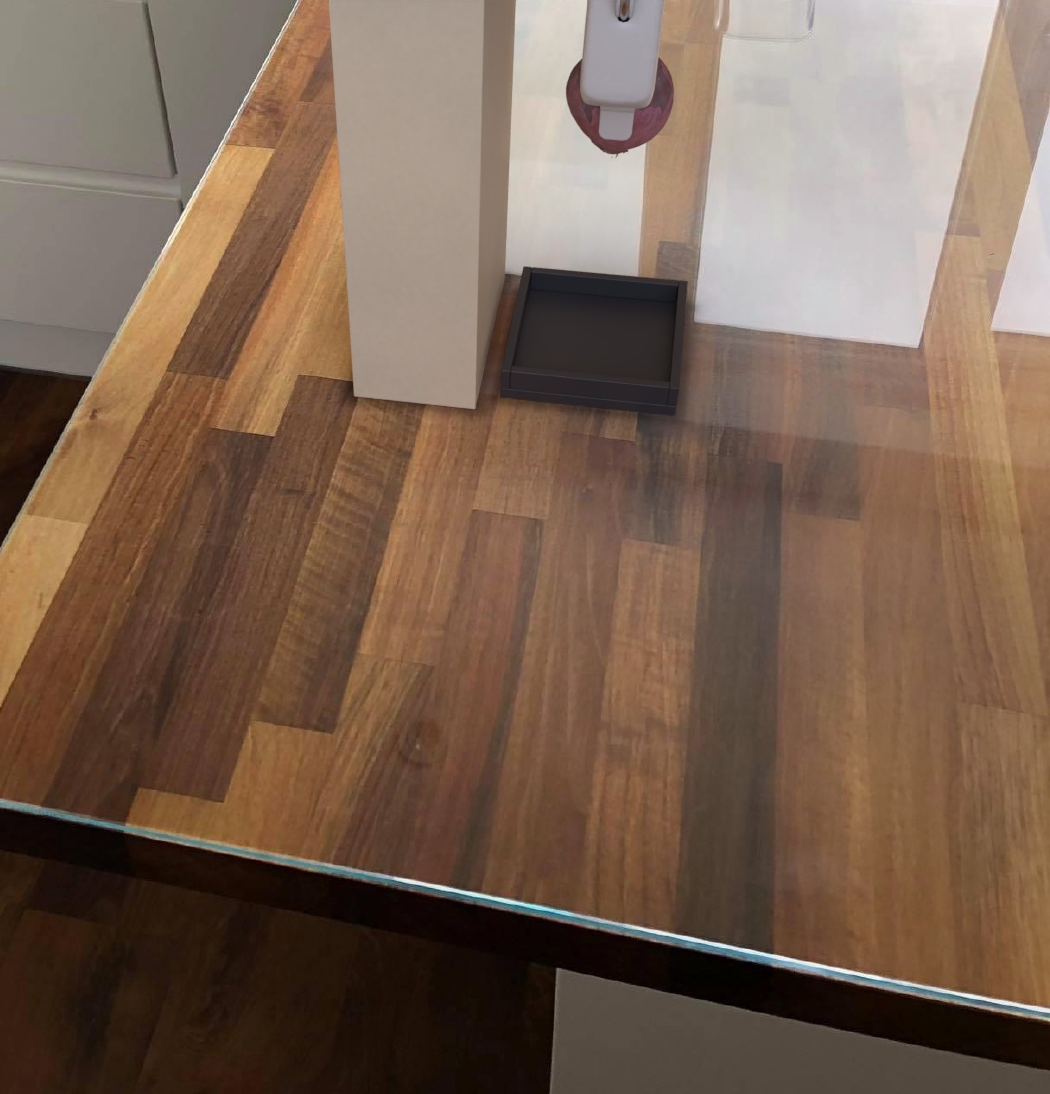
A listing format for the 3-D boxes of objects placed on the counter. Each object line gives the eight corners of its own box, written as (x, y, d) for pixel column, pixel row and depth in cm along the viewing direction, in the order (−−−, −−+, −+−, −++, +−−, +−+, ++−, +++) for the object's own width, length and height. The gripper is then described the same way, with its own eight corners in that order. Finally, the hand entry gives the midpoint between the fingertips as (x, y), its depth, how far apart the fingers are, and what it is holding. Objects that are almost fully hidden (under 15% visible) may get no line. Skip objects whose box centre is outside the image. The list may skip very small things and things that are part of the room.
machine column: (512, 275, 98) (532, -172, 76) (481, 415, 88) (494, -51, 66) (388, 263, 99) (372, -178, 77) (344, 400, 89) (311, -61, 67)
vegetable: (601, 115, 84) (616, -48, 76) (687, 150, 81) (712, -16, 74) (541, 158, 81) (551, -7, 73) (628, 195, 78) (647, 27, 71)
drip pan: (683, 307, 95) (688, 280, 93) (674, 416, 87) (679, 388, 86) (521, 292, 97) (523, 265, 95) (499, 397, 89) (501, 370, 88)
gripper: (703, -64, 61) (666, 205, 71) (719, -230, 74) (685, 16, 84) (560, -72, 62) (544, 195, 72) (601, -234, 75) (582, 10, 85)
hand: (620, 97), depth 78 cm, fingers closed on vegetable, 6 cm apart
